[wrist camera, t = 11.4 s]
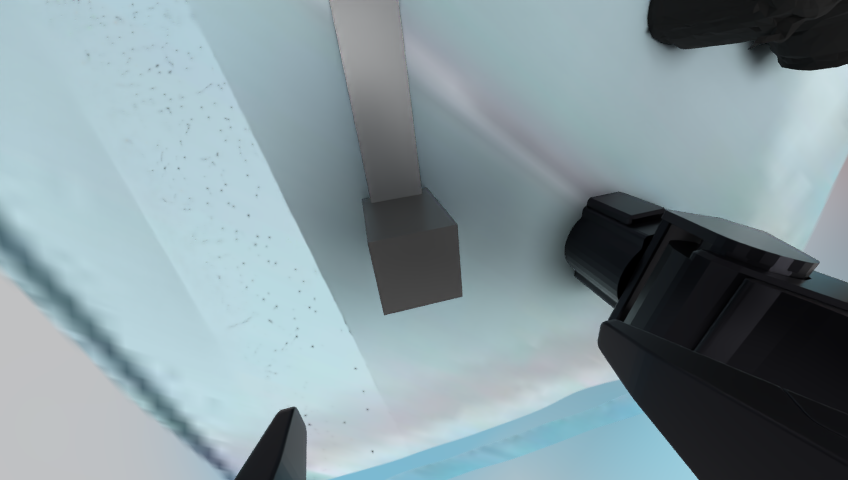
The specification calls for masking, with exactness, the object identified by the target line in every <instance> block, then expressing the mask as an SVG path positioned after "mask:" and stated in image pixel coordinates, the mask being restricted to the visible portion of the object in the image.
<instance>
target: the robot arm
mask: <svg viewBox="0 0 848 480" xmlns="http://www.w3.org/2000/svg"><path fill="white" fill-rule="evenodd" d="M565 257H566V260H567V262H568V264H569V265H570V266H571V267H572V268H573V269H575V273H574V276H575V277H576V278H577V279H578V280H580V281H581V282H582V283H583V284H585V285H586V286H587V287H588V288H590V289H591V290H592V291H593V292H595V293H596V294H597V295H598V296H599V297H601V298H602V299H603V300H604V301H606V302H607V303H608V304H609V305H611V306H612V307H613V308H614V310H613V312H612V313H611V315H610V317H609V319H608V321H605V322H603V323H602V324H601V326H600V331H599V336H598V346H599V349H600V350H601V352H602V353H603V355H604V356H605V358H606V359H607V361H608V362H609V364H610V365H611V367H612V368H613V370H614V371H615V373H616V374H617V376H618V377H619V379H620V380H621V382H622V383H623V385H624V386H625V388H626V389H627V390H628V392H629V393H630V395H631V396H632V397H633V399H634V400H635V401H636V403H637V404H638V405H639V406H640V408H641V409H642V410H643V411H644V413H645V414H646V415H647V416H648V417H649V419H650V420H651V421H652V422H653V424H654V425H655V426H656V427H657V429H658V430H659V431H660V432H661V434H662V435H663V436H664V437H665V438H666V440H667V441H668V442H669V443H670V445H671V446H672V447H673V448H674V450H675V451H676V452H677V453H678V455H679V456H680V457H681V458H682V459H683V461H684V462H685V463H686V465H687V466H688V467H689V468H690V469H691V471H692V472H693V473H694V474H695V476H696V477H697V478H698V479H699V480H848V283H847V282H845V281H842V280H839V279H836V278H833V277H830V276H827V275H825V274H822V273H819V272H816V271H814V269H815V268H816V267H817V266H818V264H819V263H820V262H819V261H818V260H816V259H815V258H813V257H811V256H809V255H807V254H806V253H804V252H802V251H800V250H798V249H796V248H795V247H793V246H791V245H789V244H787V243H785V242H784V241H782V240H780V239H778V238H776V237H774V236H773V235H771V234H769V233H767V232H764V231H761V230H758V229H755V228H751V227H748V226H745V225H741V224H738V223H735V222H731V221H728V220H725V219H721V218H717V217H711V216H704V215H698V214H692V213H685V212H679V211H673V210H667V209H665V208H664V207H661V206H658V205H655V204H653V203H650V202H647V201H644V200H641V199H639V198H636V197H633V196H630V195H628V194H625V193H622V192H616V193H611V194H606V195H601V196H596V197H591V198H590V199H589V200H588V202H587V206H586V207H584V209H583V213H582V217H581V219H580V220H579V221H578V222H577V223H576V224H575V225H574V227H573V228H572V230H571V231H570V233H569V235H568V238H567V240H566V244H565ZM306 444H307V432H306V426H305V423H304V421H303V419H302V417H301V415H300V413H299V411H298V409H297V408H296V407H290V408H287V409H283V410H280V411H279V412H278V413H277V414H276V416H275V417H274V419H273V420H272V422H271V424H270V425H269V427H268V428H267V430H266V431H265V433H264V434H263V436H262V437H261V439H260V441H259V442H258V444H257V445H256V447H255V448H254V450H253V451H252V453H251V455H250V456H249V458H248V459H247V461H246V462H245V464H244V465H243V467H242V469H241V470H240V472H239V473H238V475H237V476H236V478H235V479H234V480H306Z"/></svg>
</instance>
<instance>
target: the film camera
mask: <svg viewBox="0 0 848 480" xmlns="http://www.w3.org/2000/svg"><path fill="white" fill-rule="evenodd" d="M648 26H649V29H650V32H651V35H652V37H653V38H654V39H656V40H658V41H660V42H661V43H666V44H670V45H672V44H674V45H676V46H677V47H679V48H681V49H693V48H702V47H709V46H718V45H726V44H734V43H741V42H747V41H752V40H755V42H754V43H753V45H752V46H751V47H750V48H749V49H751V48H754V47H756V46H758V45H760V44H763V43H768V42H770V49H771V51H772V52H773V53H774V54H776V55H777V58H778V62H779V64H780V65H781V67H784V68H789V69H795V70H808V71H810V70H819V69H826V68H832V67H839V66H842V65H845V64H848V0H651V3H650V6H649V13H648ZM749 49H748V50H749Z"/></svg>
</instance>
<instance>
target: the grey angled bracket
mask: <svg viewBox="0 0 848 480" xmlns="http://www.w3.org/2000/svg"><path fill="white" fill-rule="evenodd" d="M329 1H330V6H331V10H332V15H333V20H334V25H335V30H336V35H337V39H338V44H339V49H340V54H341V59H342V64H343V68H344V73H345V78H346V83H347V88H348V93H349V97H350V102H351V107H352V112H353V117H354V122H355V126H356V131H357V136H358V141H359V146H360V151H361V155H362V160H363V165H364V170H365V175H366V180H367V184H368V189H369V194H370V198H367V199H362V203H363V211H364V219H365V226H366V234H367V242H368V246H369V251H370V255H371V260H372V264H373V268H374V273H375V277H376V282H377V286H378V290H379V295H380V299H381V304H382V308H383V312H384V315H387V314H391V313H395V312H400V311H404V310H408V309H412V308H416V307H420V306H425V305H429V304H433V303H437V302H441V301H445V300H450V299H454V298H458V297H462V282H461V268H460V254H459V240H458V227H457V223H456V222H455V221H454V220H453V219H452V217H451V216H450V215H449V214H448V213H447V211H446V210H445V209H444V208H443V207H442V205H441V204H440V203H439V202H438V201H437V199H436V198H435V197H434V196H433V195H432V193H431V192H430V191H429V190H428V189H427V188H421V180H420V172H419V163H418V155H417V147H416V139H415V131H414V123H413V115H412V107H411V99H410V91H409V83H408V75H407V67H406V58H405V50H404V42H403V34H402V26H401V18H400V10H399V2H398V0H329Z"/></svg>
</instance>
